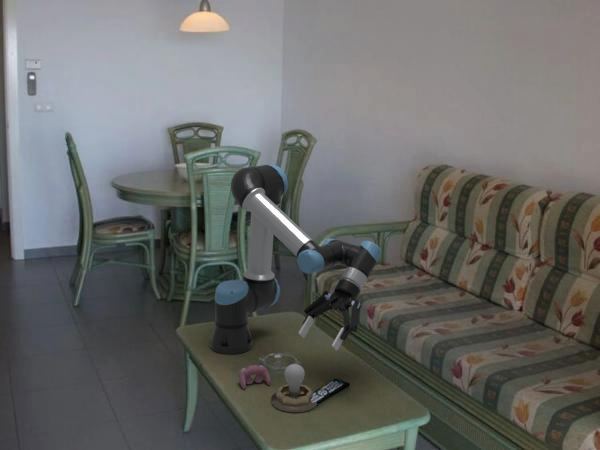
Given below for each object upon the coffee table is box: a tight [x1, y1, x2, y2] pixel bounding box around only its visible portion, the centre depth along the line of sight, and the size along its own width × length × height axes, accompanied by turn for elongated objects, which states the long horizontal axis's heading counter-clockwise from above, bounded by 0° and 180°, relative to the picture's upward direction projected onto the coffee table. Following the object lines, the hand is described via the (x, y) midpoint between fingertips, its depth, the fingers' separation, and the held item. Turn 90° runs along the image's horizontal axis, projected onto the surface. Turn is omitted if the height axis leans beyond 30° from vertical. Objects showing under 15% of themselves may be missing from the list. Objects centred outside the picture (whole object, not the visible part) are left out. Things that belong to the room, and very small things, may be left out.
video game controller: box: [238, 364, 272, 390], centre depth 219 cm, size 10×5×7 cm, turn 112°
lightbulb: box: [283, 363, 306, 398], centre depth 207 cm, size 6×6×11 cm
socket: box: [270, 383, 318, 414], centre depth 208 cm, size 14×14×4 cm
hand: (317, 341), depth 212 cm, fingers open, 13 cm apart
